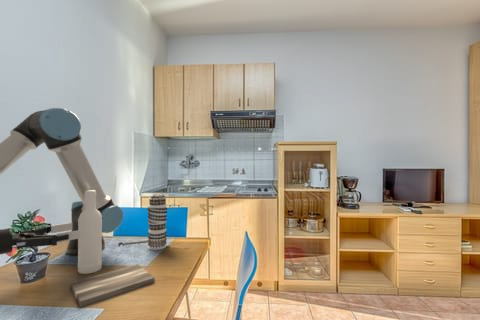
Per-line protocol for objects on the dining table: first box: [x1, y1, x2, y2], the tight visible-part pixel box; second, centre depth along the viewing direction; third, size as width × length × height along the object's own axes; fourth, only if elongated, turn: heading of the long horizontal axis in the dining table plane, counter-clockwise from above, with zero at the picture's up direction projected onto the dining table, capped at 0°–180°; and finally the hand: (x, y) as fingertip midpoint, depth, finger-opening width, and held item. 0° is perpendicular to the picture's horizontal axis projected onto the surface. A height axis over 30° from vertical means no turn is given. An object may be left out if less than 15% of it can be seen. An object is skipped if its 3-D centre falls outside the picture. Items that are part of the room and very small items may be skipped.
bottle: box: [77, 190, 103, 275], centre depth 97 cm, size 8×8×30 cm
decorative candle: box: [146, 193, 168, 251], centre depth 122 cm, size 9×9×25 cm
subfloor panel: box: [69, 263, 155, 308], centre depth 86 cm, size 15×22×2 cm
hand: (75, 229), depth 93 cm, fingers open, 13 cm apart
